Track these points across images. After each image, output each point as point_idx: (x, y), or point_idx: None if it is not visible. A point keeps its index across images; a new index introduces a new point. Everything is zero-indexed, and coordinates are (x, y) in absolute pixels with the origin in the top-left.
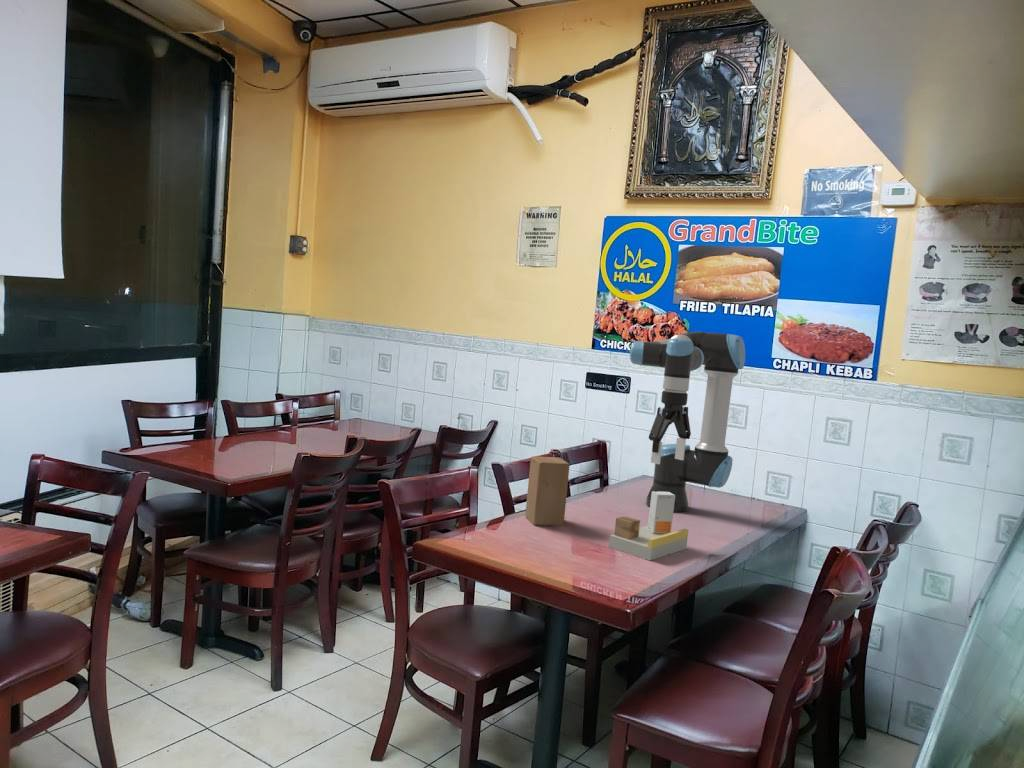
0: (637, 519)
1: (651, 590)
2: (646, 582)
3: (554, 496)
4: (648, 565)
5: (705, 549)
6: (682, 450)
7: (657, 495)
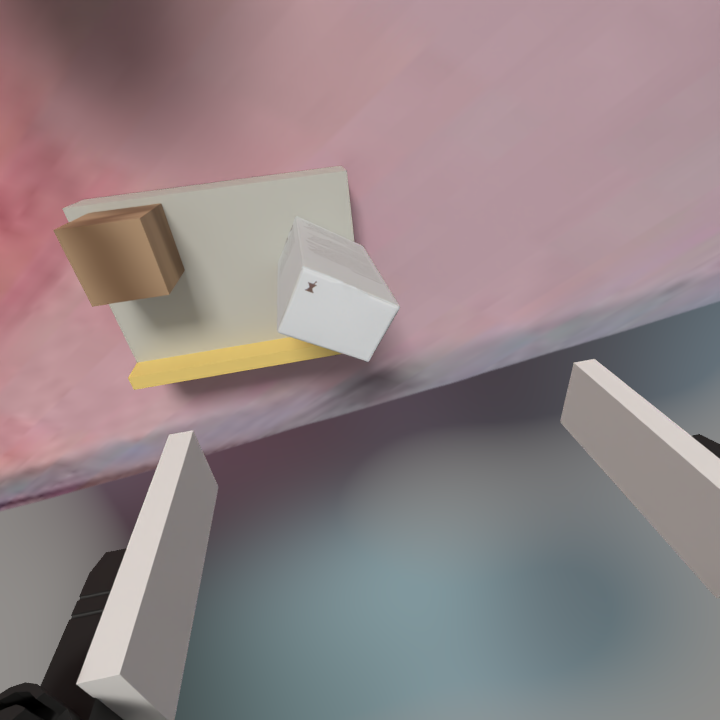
0: (163, 282)
1: (10, 487)
2: (28, 455)
3: None
4: (120, 377)
5: (411, 340)
6: (617, 476)
7: (277, 327)
